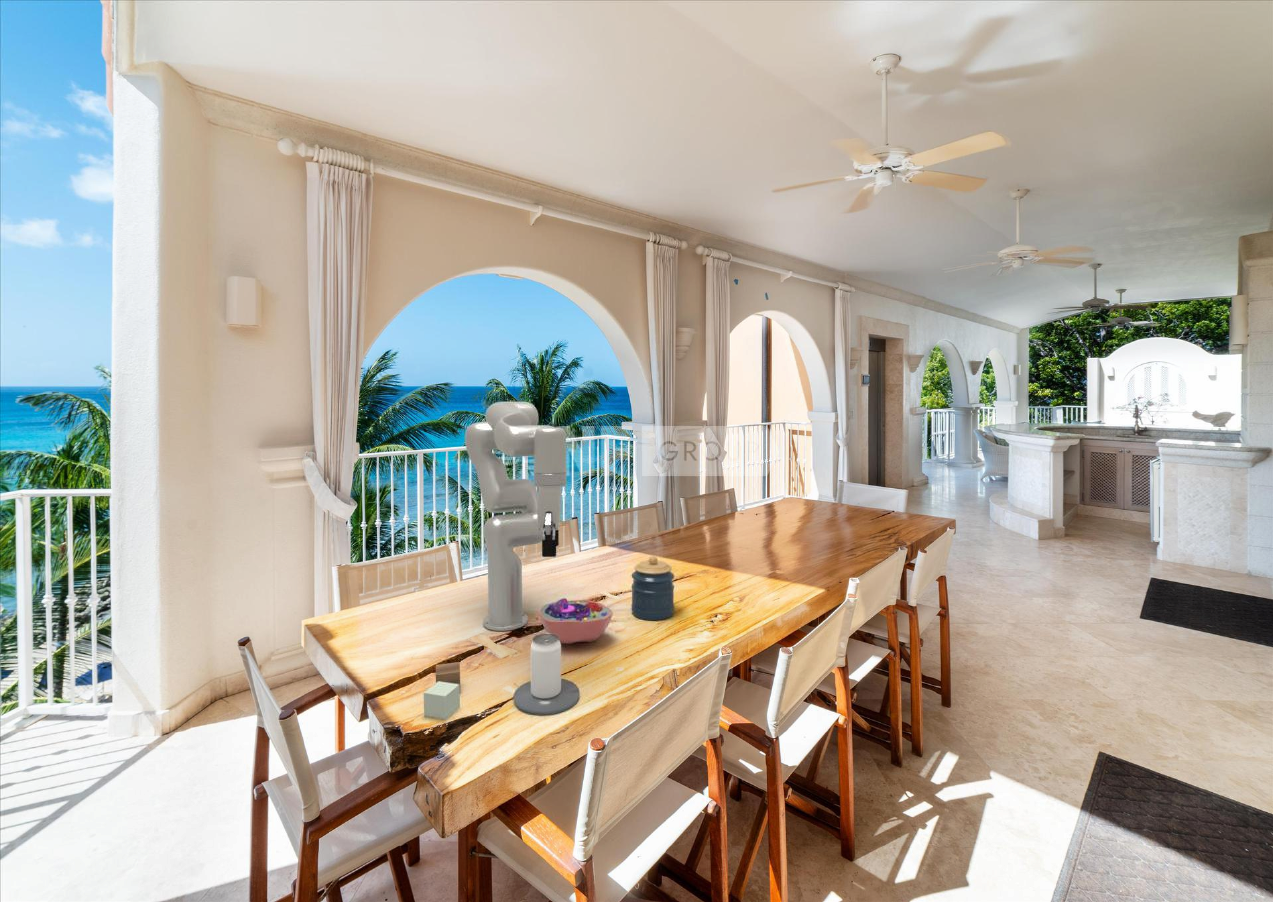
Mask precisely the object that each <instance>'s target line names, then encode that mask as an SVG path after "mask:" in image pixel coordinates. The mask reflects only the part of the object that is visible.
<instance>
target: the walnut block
mask: <svg viewBox="0 0 1273 902" xmlns="http://www.w3.org/2000/svg"><path fill="white" fill-rule="evenodd" d="M460 666H461V665H460V661H457V662H449V663H441V664H436V665H435V684H436V683H437V682H438V681H440V682H447V683H453V684H459V688H460V689H461V668H460Z"/></svg>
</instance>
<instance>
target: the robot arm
mask: <svg viewBox="0 0 1273 902" xmlns="http://www.w3.org/2000/svg"><path fill="white" fill-rule="evenodd" d="M484 415H485V421H478V422H475V423H472V424H469V426H467V427H466V430H465V433H464V442H465V447H466V453H467V454H468V455H467V456H468V457H469V460H470V461H471V464H472V465H473V467H474V468H475V471H476V475H477V479H478V480H477V481H478V485H479V490H480V495H481V499H482V504H483V507H484V508H485V510H486V511H487V512H488V513H491V514H492V513H493V514H497V515H495V516H494V515H493V516H492V517H489V518H488V519H487V520H486V521H485V522H484V526H483V537H484V541H485V547H486V554H487V555H486V556H487V587H488V589H487V593H488V594H487V595H488V600H487V601H488V603H487V604H488V615H486V616H485V618H484V619H483V621H482V624H483V627H484V628H485V629H488V630H491V631H494V632H495V631H499V632H505V631H507V632H508V631H513V630H518V629H520V628H522V627H524V626H526V624H528V622H529V617H528V615H527V614H525V613H524V612H523V570H522V569H523V564H522V560H521V557H520V556H519V555H518V553H516V552H515V551H514V548H518V547H525V546H531V545H532V546H533V545H537V544H541V555H542V556H541V557H542V558H555V557H556V556H557V547H558V546H559V544H560V543H559V541H560V538H559V535H560V534H559V526H560V522H561V515H562V514H561V513H562V512H561V511H562V488H564V487H567V433H566V431H565V429H564V428H562V427H556V426H555V427H554V426H552V425H540V424H538V423H539V412H538V409H537V408H536V407H535V405H534V404H533V403H532V402H528V401H497V402H494V403H492V404H491V405H489V406H488V408H486V411H485V414H484ZM494 450H496V451H500V452H501V453H503V454H504V455H506V456H507V457H511V458H518V457H519V458H523V457H533V482H532V481H531V480H530V479H527V478H514V479H511V478H510V477H509V476H508V472H507V467H506V464H505V463H504V462H503V461H502V460H501V458H500V457H498V456H497V455H496V454H495V453H493V452H492V451H494ZM537 489H538V490H537ZM510 512H512V513H510ZM513 512H517V513H513ZM499 513H500V515H498V514H499ZM501 513H504V514H501ZM505 513H506V514H505Z"/></svg>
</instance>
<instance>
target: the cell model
mask: <svg viewBox="0 0 1273 902" xmlns="http://www.w3.org/2000/svg"><path fill="white" fill-rule="evenodd" d="M613 614H614V612H613V610H612V609H610V608H609V607H608V606H606V605H605V604H603V603H601V602H598V601H593V600H588V599H579V600H575V599H574V600H568V599H567V598H566V597H564V598H560V599H558V600H556V601H555V602H550V603H548V604H545V605H543V606H541V608H540V609H539V610H538V616H539V618H540V620H541V622H542V625H543V628H544V629H545V631H546V633H551V634H555V635H557V636H558V637H559V641H560V643H561V644H575V643H580V642H586V643H591V642H594V641H596V640H598V638H600V637H601V636H602V635H603V633H605V631H606V630H607V629H608V627H609V624H610V622H611V619H612V617H613Z"/></svg>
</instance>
